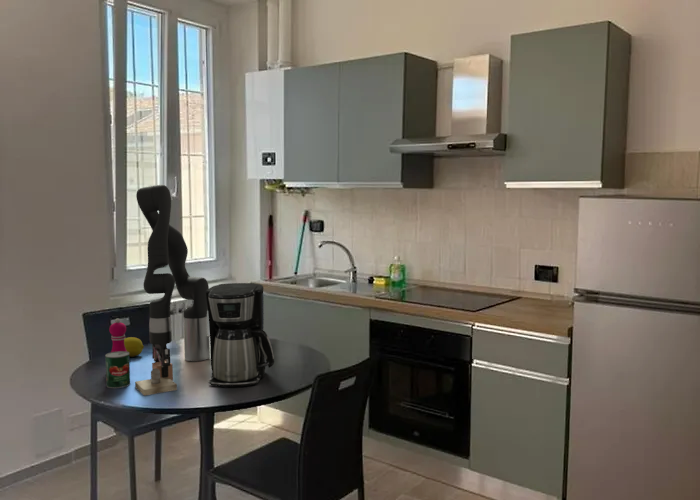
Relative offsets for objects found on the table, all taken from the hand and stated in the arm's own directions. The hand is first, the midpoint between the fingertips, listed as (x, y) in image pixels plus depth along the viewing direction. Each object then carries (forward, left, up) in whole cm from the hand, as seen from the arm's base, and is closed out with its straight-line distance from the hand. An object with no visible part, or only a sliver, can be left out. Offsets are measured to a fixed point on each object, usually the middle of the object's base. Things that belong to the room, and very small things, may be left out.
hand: (161, 374), depth 224 cm
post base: (+4, +8, -2) cm, 10 cm away
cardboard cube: (-1, -1, -2) cm, 2 cm away
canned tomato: (+14, -4, -3) cm, 15 cm away
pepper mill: (+9, -22, -3) cm, 24 cm away
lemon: (0, -41, -3) cm, 41 cm away
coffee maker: (-28, +11, -3) cm, 30 cm away
